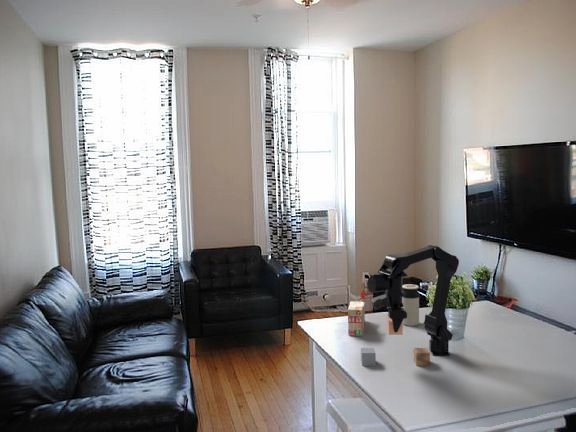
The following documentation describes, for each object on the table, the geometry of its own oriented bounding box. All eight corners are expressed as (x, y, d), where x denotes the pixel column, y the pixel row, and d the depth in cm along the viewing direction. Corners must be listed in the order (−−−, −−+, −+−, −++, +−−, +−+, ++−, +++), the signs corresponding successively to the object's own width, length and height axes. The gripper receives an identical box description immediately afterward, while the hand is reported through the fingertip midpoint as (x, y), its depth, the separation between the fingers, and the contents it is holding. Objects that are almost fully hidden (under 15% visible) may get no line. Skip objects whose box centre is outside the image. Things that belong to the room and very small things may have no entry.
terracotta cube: (400, 330, 182) (400, 317, 181) (402, 334, 177) (402, 321, 176) (387, 330, 182) (386, 317, 182) (388, 334, 177) (388, 321, 177)
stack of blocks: (351, 320, 232) (351, 295, 230) (364, 321, 230) (364, 296, 229) (348, 336, 211) (347, 308, 210) (362, 336, 210) (362, 309, 208)
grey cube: (374, 360, 184) (373, 347, 183) (375, 365, 179) (375, 353, 178) (361, 360, 184) (360, 348, 184) (362, 365, 179) (362, 353, 179)
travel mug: (422, 324, 222) (422, 287, 220) (408, 327, 219) (408, 289, 217) (412, 319, 230) (412, 283, 228) (398, 322, 227) (398, 285, 225)
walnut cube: (427, 360, 182) (427, 347, 182) (429, 365, 177) (430, 353, 177) (413, 360, 183) (413, 347, 182) (416, 365, 178) (416, 353, 177)
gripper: (370, 283, 188) (370, 321, 189) (375, 296, 169) (375, 338, 171) (398, 282, 187) (398, 321, 188) (407, 295, 168) (407, 338, 170)
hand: (394, 329), depth 179 cm, fingers closed on terracotta cube, 5 cm apart
